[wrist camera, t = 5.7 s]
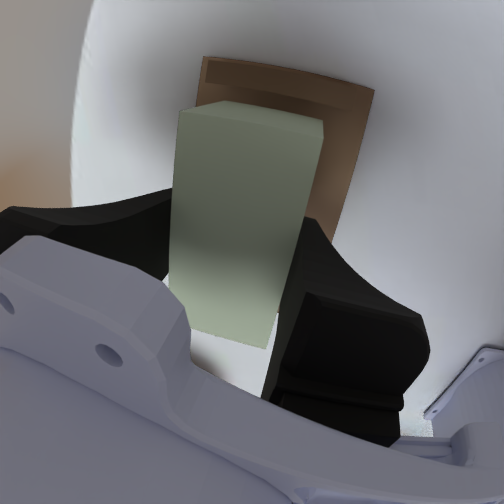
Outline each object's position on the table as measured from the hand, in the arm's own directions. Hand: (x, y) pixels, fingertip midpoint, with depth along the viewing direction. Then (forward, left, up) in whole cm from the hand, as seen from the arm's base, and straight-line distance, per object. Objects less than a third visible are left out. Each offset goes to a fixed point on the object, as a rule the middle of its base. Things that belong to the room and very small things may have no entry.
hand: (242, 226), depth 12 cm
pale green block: (0, 0, -2) cm, 3 cm away
